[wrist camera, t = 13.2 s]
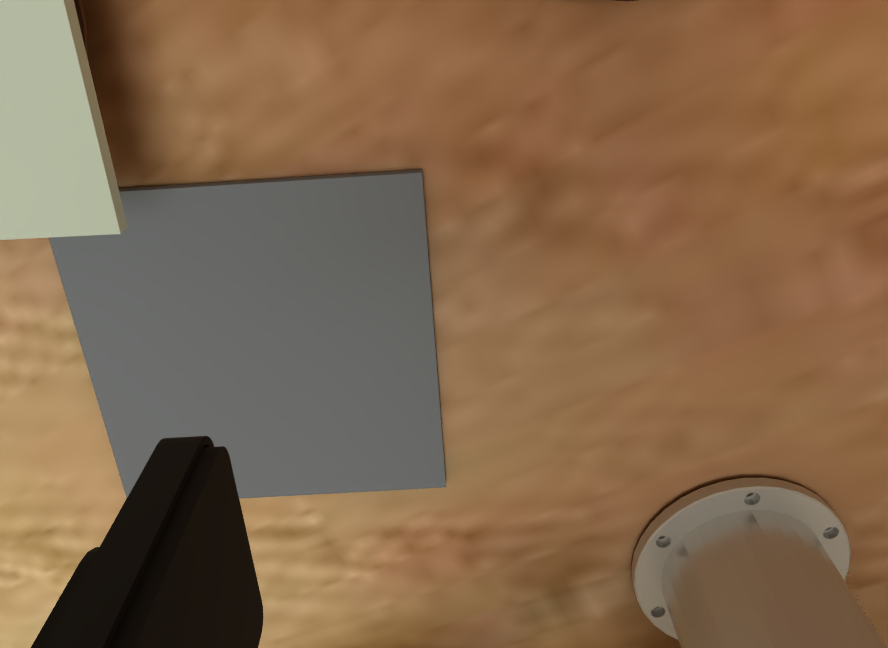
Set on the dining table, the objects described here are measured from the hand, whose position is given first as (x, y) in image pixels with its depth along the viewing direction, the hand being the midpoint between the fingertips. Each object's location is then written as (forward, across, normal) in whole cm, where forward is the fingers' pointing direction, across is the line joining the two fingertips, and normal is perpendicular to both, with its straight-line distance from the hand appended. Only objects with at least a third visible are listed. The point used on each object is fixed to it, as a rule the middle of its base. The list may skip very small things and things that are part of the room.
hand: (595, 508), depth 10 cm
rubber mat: (+28, +12, +12) cm, 33 cm away
